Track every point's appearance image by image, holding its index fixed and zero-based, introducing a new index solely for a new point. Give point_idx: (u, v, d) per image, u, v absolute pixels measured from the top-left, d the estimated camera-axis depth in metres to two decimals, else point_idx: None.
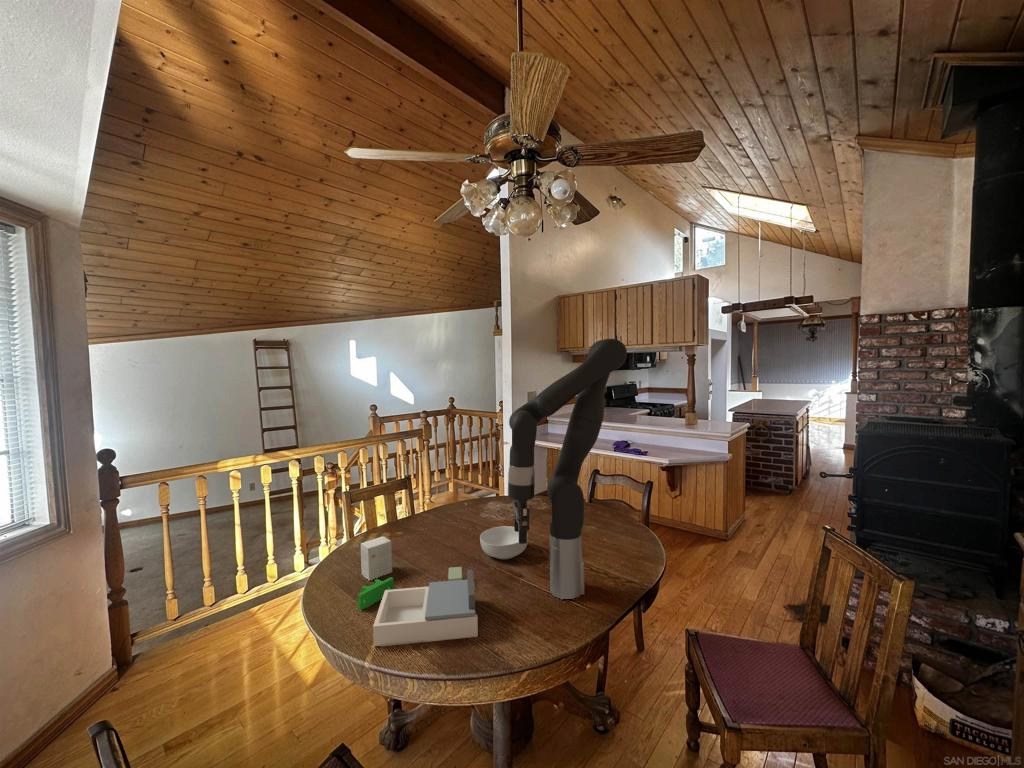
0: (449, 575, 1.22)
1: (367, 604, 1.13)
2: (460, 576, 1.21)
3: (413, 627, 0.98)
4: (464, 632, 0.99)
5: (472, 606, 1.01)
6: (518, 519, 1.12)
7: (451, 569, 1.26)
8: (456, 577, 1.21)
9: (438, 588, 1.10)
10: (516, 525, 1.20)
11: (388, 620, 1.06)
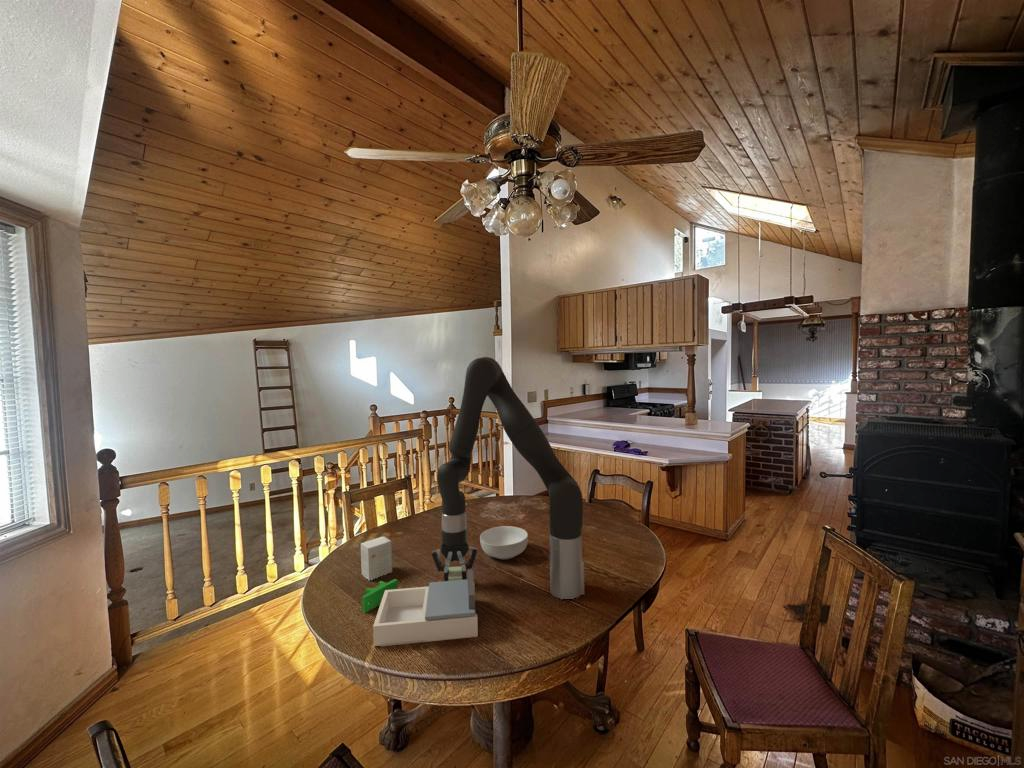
0: (449, 575, 1.22)
1: (371, 606, 1.12)
2: (460, 576, 1.21)
3: (413, 627, 0.98)
4: (464, 632, 0.99)
5: (472, 606, 1.01)
6: (464, 562, 1.23)
7: (451, 569, 1.26)
8: (456, 576, 1.21)
9: (438, 588, 1.10)
10: None
11: (388, 620, 1.06)
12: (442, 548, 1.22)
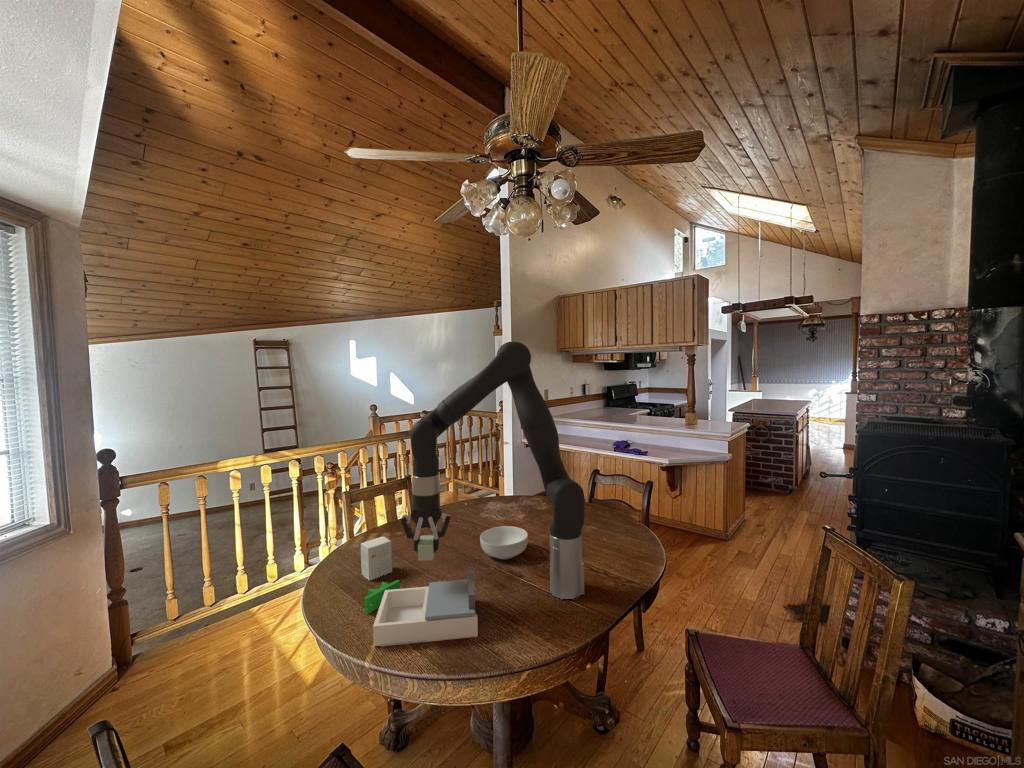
0: (420, 542, 1.12)
1: (374, 607, 1.11)
2: (431, 544, 1.11)
3: (413, 627, 0.98)
4: (464, 632, 0.99)
5: (472, 606, 1.01)
6: (436, 529, 1.12)
7: (423, 537, 1.15)
8: (427, 544, 1.11)
9: (438, 588, 1.10)
10: None
11: (388, 620, 1.06)
12: (412, 513, 1.12)
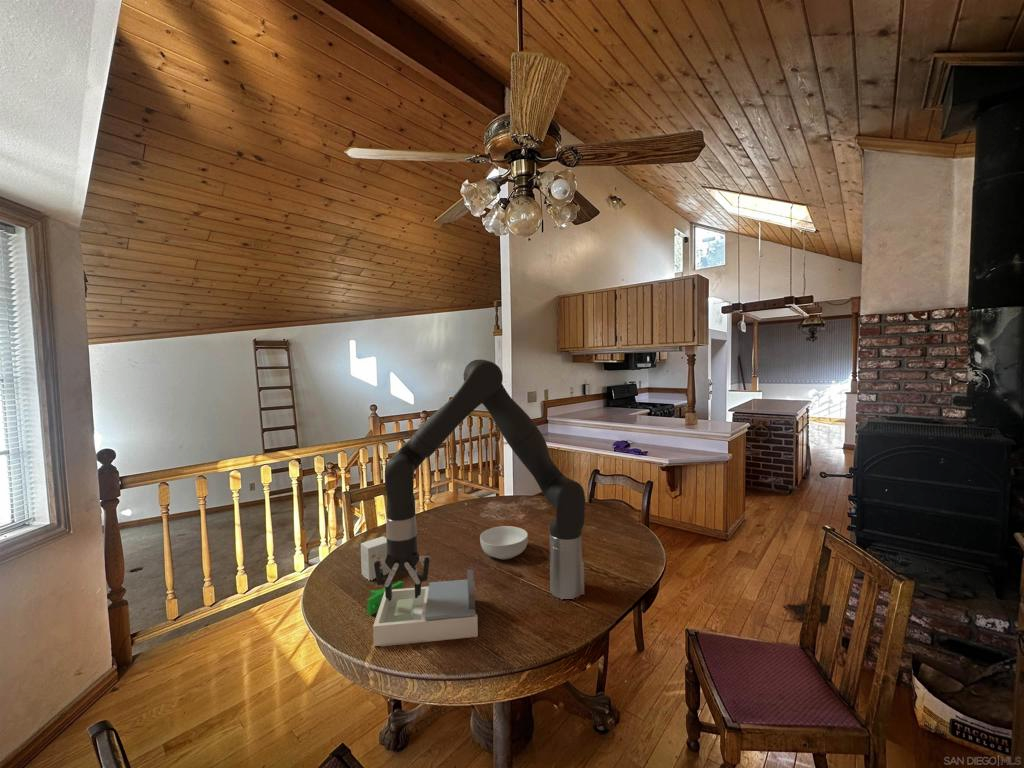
0: (396, 610, 1.03)
1: (376, 609, 1.10)
2: (409, 611, 1.03)
3: (413, 627, 0.98)
4: (464, 632, 0.99)
5: (472, 606, 1.01)
6: (415, 573, 1.04)
7: (400, 602, 1.07)
8: (404, 612, 1.02)
9: (438, 588, 1.10)
10: (391, 592, 1.04)
11: (388, 620, 1.06)
12: (387, 558, 1.03)
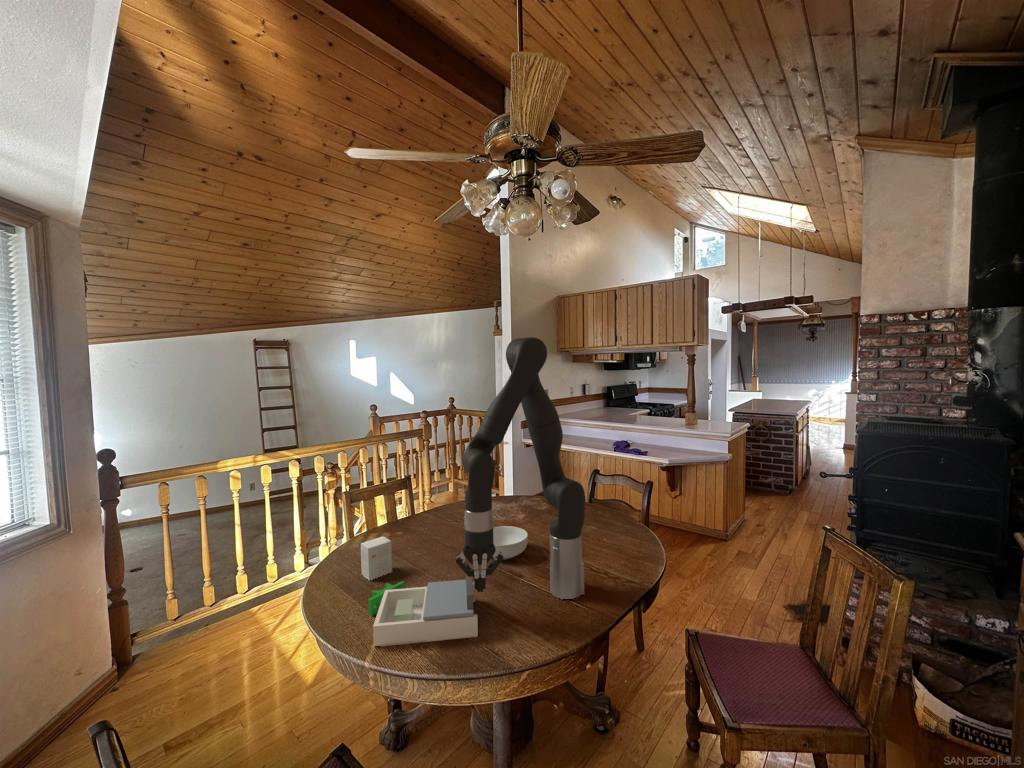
0: (396, 610, 1.03)
1: (378, 609, 1.10)
2: (409, 611, 1.03)
3: (413, 627, 0.98)
4: (464, 632, 0.99)
5: (470, 606, 1.01)
6: None
7: (400, 602, 1.07)
8: (404, 612, 1.02)
9: (436, 588, 1.10)
10: None
11: (388, 620, 1.06)
12: (465, 551, 1.05)
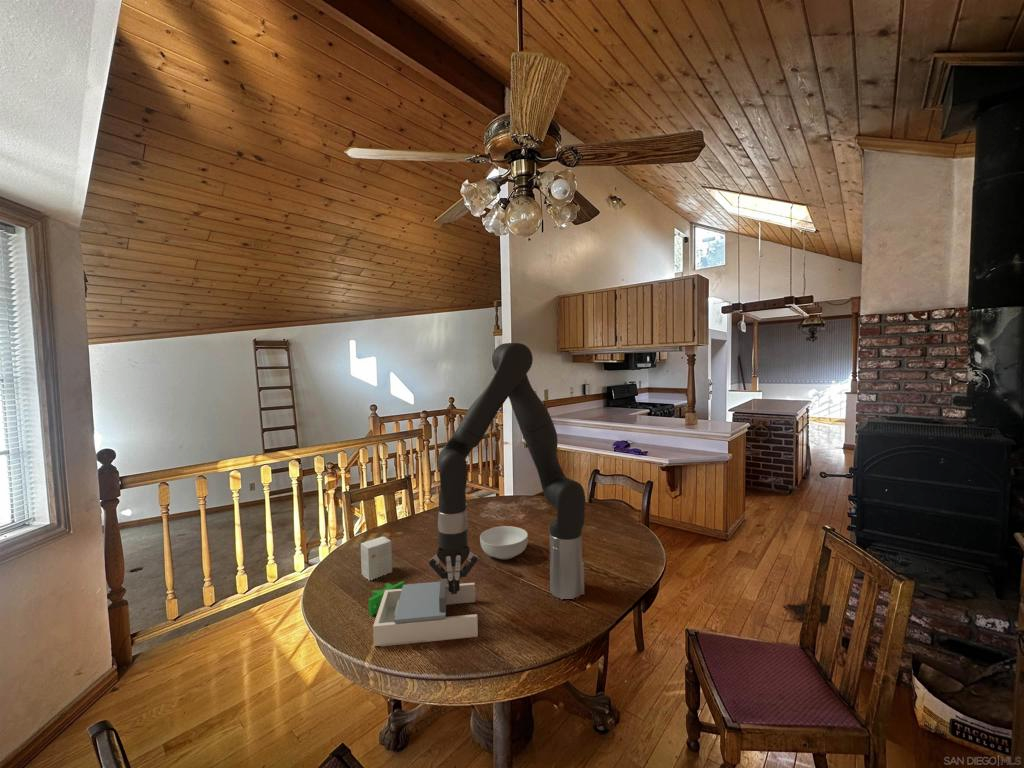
0: (396, 610, 1.03)
1: (378, 609, 1.10)
2: None
3: (413, 627, 0.98)
4: (464, 632, 0.99)
5: (443, 609, 1.00)
6: (459, 569, 1.05)
7: None
8: None
9: (411, 590, 1.10)
10: None
11: (388, 620, 1.06)
12: (438, 553, 1.05)
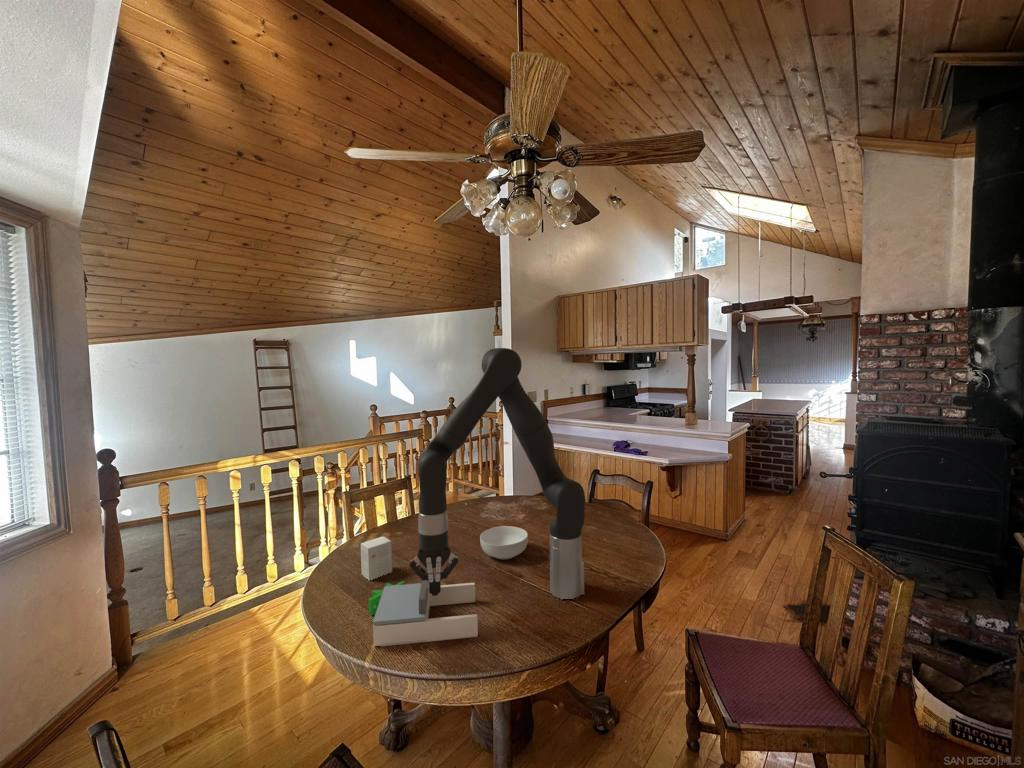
0: None
1: None
2: None
3: (413, 627, 0.98)
4: (464, 632, 0.99)
5: (422, 611, 0.99)
6: (440, 571, 1.05)
7: None
8: None
9: (392, 592, 1.09)
10: None
11: None
12: (418, 554, 1.04)
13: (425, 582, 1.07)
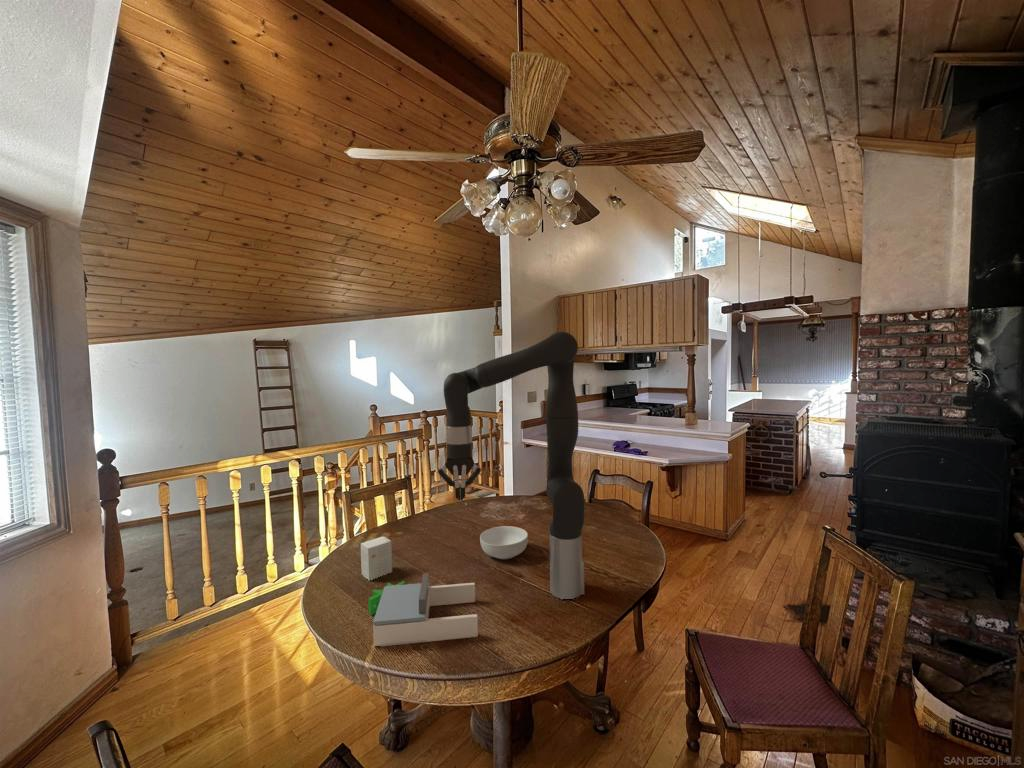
0: None
1: None
2: None
3: (413, 627, 0.98)
4: (464, 632, 0.99)
5: (422, 611, 0.99)
6: None
7: None
8: None
9: (392, 592, 1.09)
10: None
11: None
12: (446, 463, 1.18)
13: (425, 582, 1.07)
